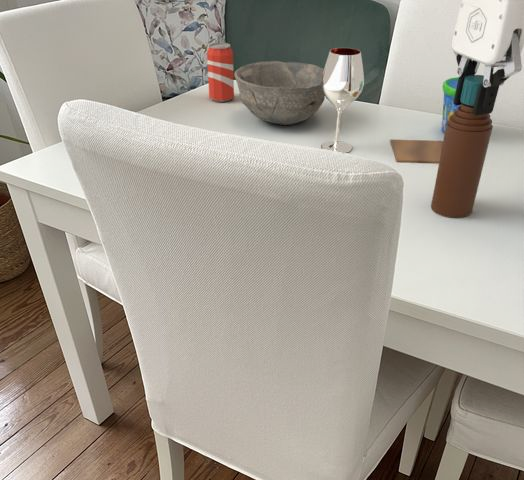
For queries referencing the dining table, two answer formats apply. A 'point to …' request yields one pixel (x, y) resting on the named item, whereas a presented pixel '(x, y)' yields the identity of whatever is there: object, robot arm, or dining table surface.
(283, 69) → the bowl
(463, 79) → the robot arm
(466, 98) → the cap
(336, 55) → the wineglass
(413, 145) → the coaster
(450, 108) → the snack cup
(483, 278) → the dining table surface
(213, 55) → the beverage can
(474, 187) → the bottle
